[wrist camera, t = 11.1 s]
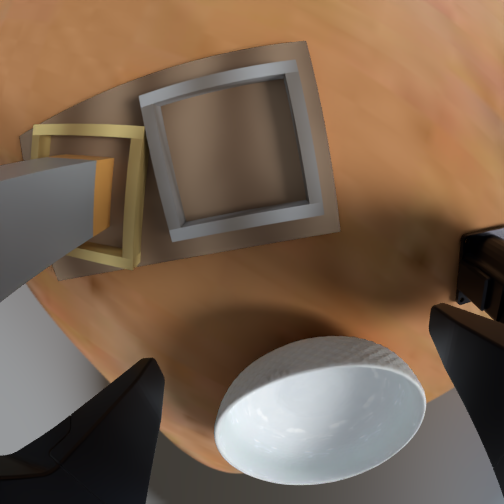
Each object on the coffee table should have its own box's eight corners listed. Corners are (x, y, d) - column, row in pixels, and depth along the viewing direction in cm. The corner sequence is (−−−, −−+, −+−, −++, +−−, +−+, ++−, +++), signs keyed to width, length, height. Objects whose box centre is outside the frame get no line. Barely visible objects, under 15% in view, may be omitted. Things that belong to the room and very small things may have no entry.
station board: (304, 45, 16) (309, 33, 14) (337, 227, 21) (346, 238, 18) (25, 136, 19) (6, 138, 16) (62, 276, 23) (47, 288, 21)
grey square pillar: (114, 157, 19) (-29, 190, 7) (109, 226, 20) (-12, 311, 9) (66, 154, 18) (-72, 184, 7) (63, 218, 20) (-57, 285, 8)
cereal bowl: (406, 289, 22) (446, 338, 16) (391, 415, 28) (408, 463, 21) (201, 324, 24) (181, 385, 17) (243, 440, 29) (239, 491, 23)
